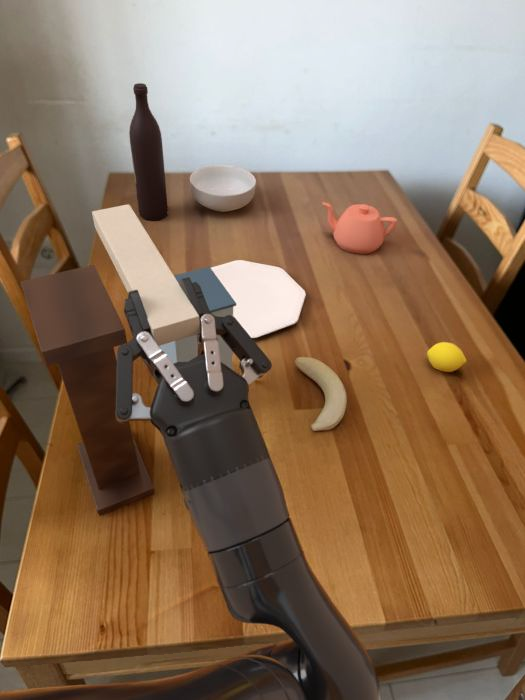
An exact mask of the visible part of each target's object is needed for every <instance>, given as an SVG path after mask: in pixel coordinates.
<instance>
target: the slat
mask: <svg viewBox="0 0 525 700" xmlns="http://www.w3.org/2000/svg"><path fill="white" fill-rule="evenodd" d="M91 214H92V219H93V224H94V228H95V230H96V233H97V235H98V236H99V239H100V240H101V242H102V244H103V246H104V248H105V250H106V252H107V254H108V256H109V258H110V260H111V262H112V264H113V266H114V268H115V270H116V272H117V274H118V276H119V278H120V280H121V282H122V284H123V286H124V288H125V290H126V292H127V294H129V291H133V290H138V292H139V295H140V298H141V300H142V303H143V306H144V309H145V312H146V314H147V317H148V318H147V320H148V322H149V325H150V328H151V329H150V334H151V336H152V337H153V339H154V340H155V341H156V343H157V344H158V346H160V345H163V344H167V343H170V342H173V341H177V340H180V339H183V338H187V337H190V336H193V335H197V334H200V322H199V315H198V313H197V312H196V310H195V309H194V307H193V306H192V304H191V303H190V301H189V299H188V298H187V296H186V295H185V293H184V291H183V290H182V288H181V287H180V285H179V283H178V282H177V280H176V278H175V277H174V275H175V274H174V273H173V272H172V270H171V269H170V267H169V265H168V264H167V262H166V260H165V259H164V258H163V256H162V254H161V253H160V251H159V250H158V248H157V246H156V245H155V243H154V241H153V240H152V238H151V237H150V235H149V233H148V232H147V230H146V229H145V227H144V225H143V224H142V222H141V221H140V219H139V218H138V216H137V214H136V213H135V212H134V209H133V208H132V206H131V205H130V204H129V203H128V204H123V205H118V206H113V207H108V208H103V209H98V210H93V211H91Z"/></svg>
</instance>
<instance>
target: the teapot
mask: <svg viewBox="0 0 525 700" xmlns="http://www.w3.org/2000/svg"><path fill="white" fill-rule="evenodd" d="M321 205H323V206H324V207H325V208H326V211H327V226H328V227H329V229H330V230H331V231H332V232H333V233H332V235H333V239H334V242H335V243H336V244H337V246H338V247H339V248H341V249H342V250H344V251H346V252H348V253H353V254H358V255H359V254H361V255H366V254H371V253H373V252H375V251H376V250H378V249H379V248H380V247H381V246H382V244H383V243H384V238H385V237H386V236H388V235H389V234H390V233H391V232H392V231H394V230H395V229H396V227H397V225H398V223H399V221H398V219H397V218H396V217H391V216H384V217H383V216H381V215H380V212H379V210H378V209H376V208H375V207H374V206H371V205H368V204H366V203H362V204H361V203H357V204H356V203H355V204H352V205H350V206H348V207H347V208H346V209H345V211H343V213H342V214H341V215H340V216H339V218H338V219H337V218H336V217H335V216H334V208H333V206H332V205H331V204H330V203H329V202H325V201H321ZM384 222H385V223H389V226H388V227H387V229H386V230H385V227H384V226H385V225H384Z"/></svg>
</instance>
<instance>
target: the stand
mask: <svg viewBox="0 0 525 700" xmlns="http://www.w3.org/2000/svg"><path fill="white" fill-rule="evenodd" d="M20 285H21V288H22V292H23V294H24V298H25V302H26V305H27V308H28V311H29V314H30V318H31V321H32V325H33V328H34V331H35V334H36V338H37V342H38V345H39V348H40V351H41V354H42V358H43V360H44V363H45V366H46V367H49V366H53V365H57V367H58V369H59V372H60V376H61V379H62V382H63V385H64V388H65V392H66V394H67V398H68V400H69V403H70V407H71V409H72V412H73V415H74V418H75V421H76V424H77V428H78V430H79V433H80V437H81V439H82V442H79V443H76V446H77V449H78V453H79V456H80V460H81V462H82V466H83V469H84V472H85V476H86V478H87V482H88V485H89V489H90V492H91V494H92V498H93V501H94V504H95V508H96V510H97V513H98V516H99V517H100V516H102V515H105V514H108V513H110V512H112V511H114V510H117V509H119V508H122V507H125V506H127V505H130V504H132V503H135V502H136V501H140V500H142V499H144V498H147V497H149V496H152V495H154V494H155V493H156V492H155V487H154V484H153V482H152V480H151V477H150V474H149V472H148V470H147V467H146V464H145V463H144V459H143V458H142V455H141V453H140V450H139V448H138V445H137V443H136V440H135V438H134V436H133V435H134V434H133V431H132V427H131V421H129V422H128V423H126V424H120V423H119V422H117V420H116V376H117V354H116V351H115V347H120V346H121V345H124V344H127V343H128V340H127V333H126V328H125V326H124V324H123V322H122V320H121V318H120V315H119V313H118V312H117V310H116V308H115V306H114V303H113V301H112V299H111V297H110V294H109V292H108V291H107V288H106V287H105V285H104V282H103V280H102V278H101V276H100V274H99V272H98V270H97V268H96V266H95V264H91V265H87V266H83V267H82V266H81V267H78V268H73V269H69V270H66V271H60V272H55V273H51V274H47V275H43V276H37V277H34V278H29V279H24V280H20Z"/></svg>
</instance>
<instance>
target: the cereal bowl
mask: <svg viewBox="0 0 525 700" xmlns="http://www.w3.org/2000/svg"><path fill="white" fill-rule="evenodd" d="M256 187H257V180H256V177H255V176H254V174H252V172H250V171H248V170H247V169H245V168H242V167H239V166H234V165H228V164H214V165H207V166H203V167H200V168H198V169H196V170H194V171H193V172H192V173H191V174H190V176H189V189H190V193H191V195H192V197H193V199H194V200H195V201H196V202H197V203H199V204H200V205H201V206H202V207H205V208H207V209H210V210H213V211H215V212H221V213H225V212H231V211H236V210H239V209H242V208H243V207H246V206H247V205H248V204H249V203H250V202H251V201H252V200H253V198H254V196H255V194H256V189H257V188H256Z"/></svg>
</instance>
